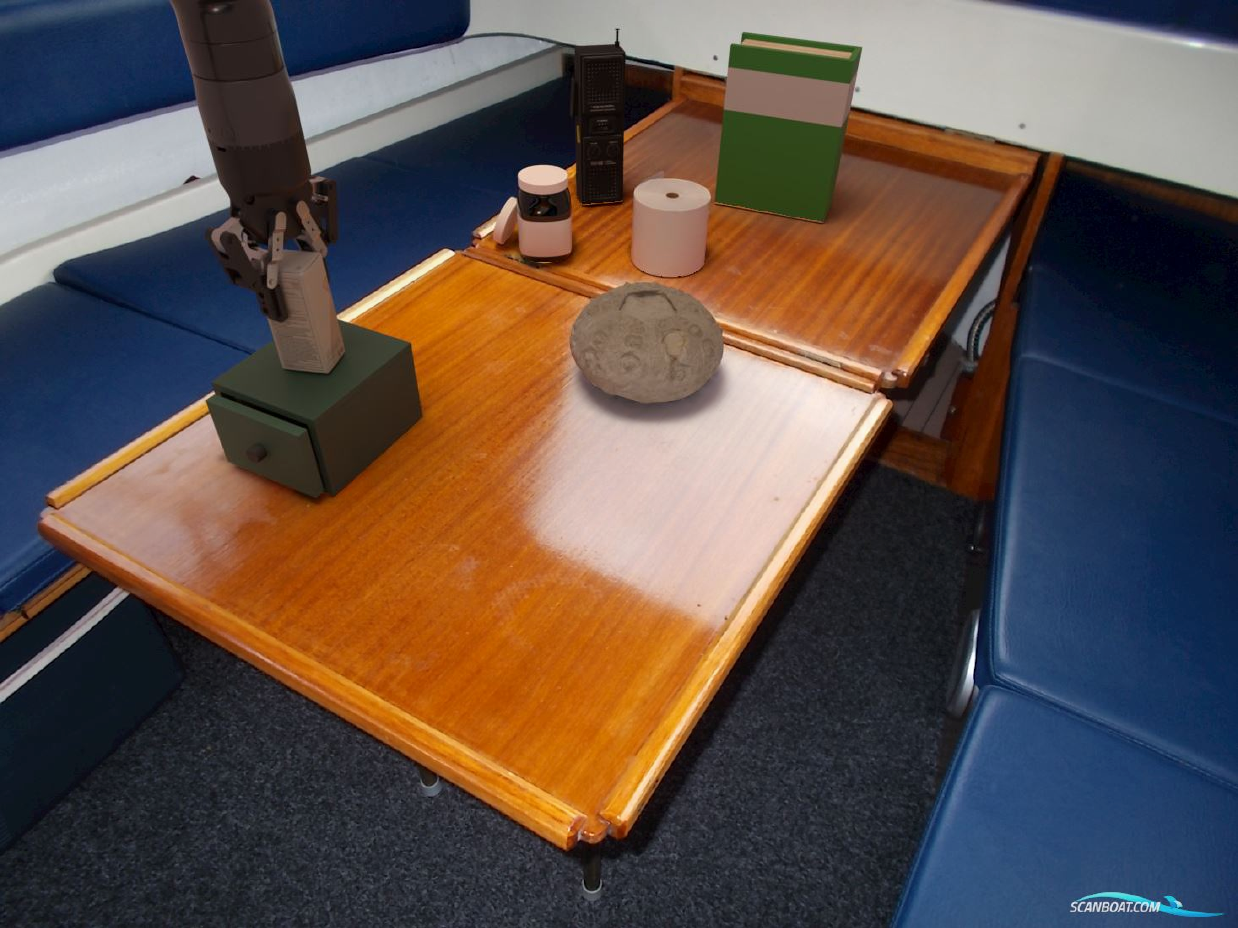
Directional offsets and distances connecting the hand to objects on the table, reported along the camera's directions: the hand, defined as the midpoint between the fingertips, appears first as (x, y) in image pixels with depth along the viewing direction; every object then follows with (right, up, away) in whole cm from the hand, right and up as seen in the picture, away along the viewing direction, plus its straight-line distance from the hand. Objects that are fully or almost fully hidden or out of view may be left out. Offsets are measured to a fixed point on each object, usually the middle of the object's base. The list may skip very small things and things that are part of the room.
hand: (298, 304), depth 82 cm
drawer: (-2, -13, +8) cm, 16 cm away
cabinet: (0, -12, +11) cm, 16 cm away
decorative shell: (+34, -5, +21) cm, 40 cm away
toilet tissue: (+37, +14, +43) cm, 59 cm away
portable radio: (+27, +28, +57) cm, 69 cm away
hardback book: (+55, +27, +57) cm, 84 cm away
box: (0, -5, +4) cm, 7 cm away
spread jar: (+18, +16, +44) cm, 50 cm away
